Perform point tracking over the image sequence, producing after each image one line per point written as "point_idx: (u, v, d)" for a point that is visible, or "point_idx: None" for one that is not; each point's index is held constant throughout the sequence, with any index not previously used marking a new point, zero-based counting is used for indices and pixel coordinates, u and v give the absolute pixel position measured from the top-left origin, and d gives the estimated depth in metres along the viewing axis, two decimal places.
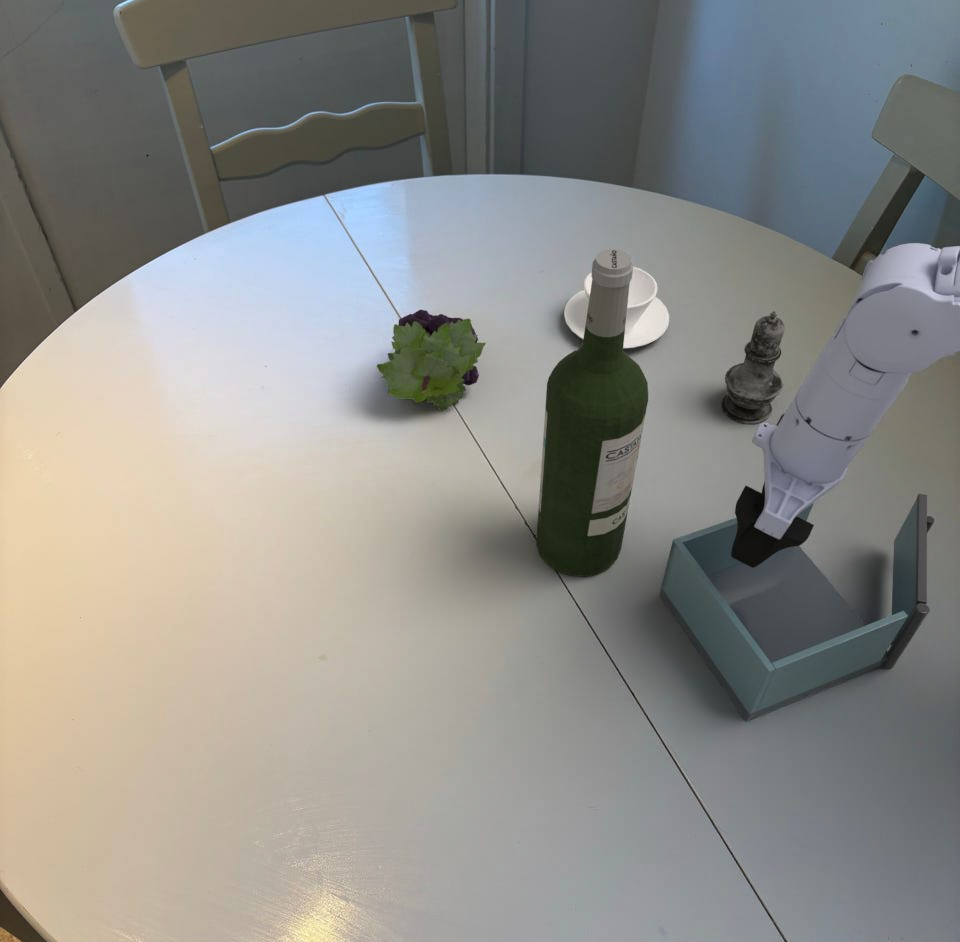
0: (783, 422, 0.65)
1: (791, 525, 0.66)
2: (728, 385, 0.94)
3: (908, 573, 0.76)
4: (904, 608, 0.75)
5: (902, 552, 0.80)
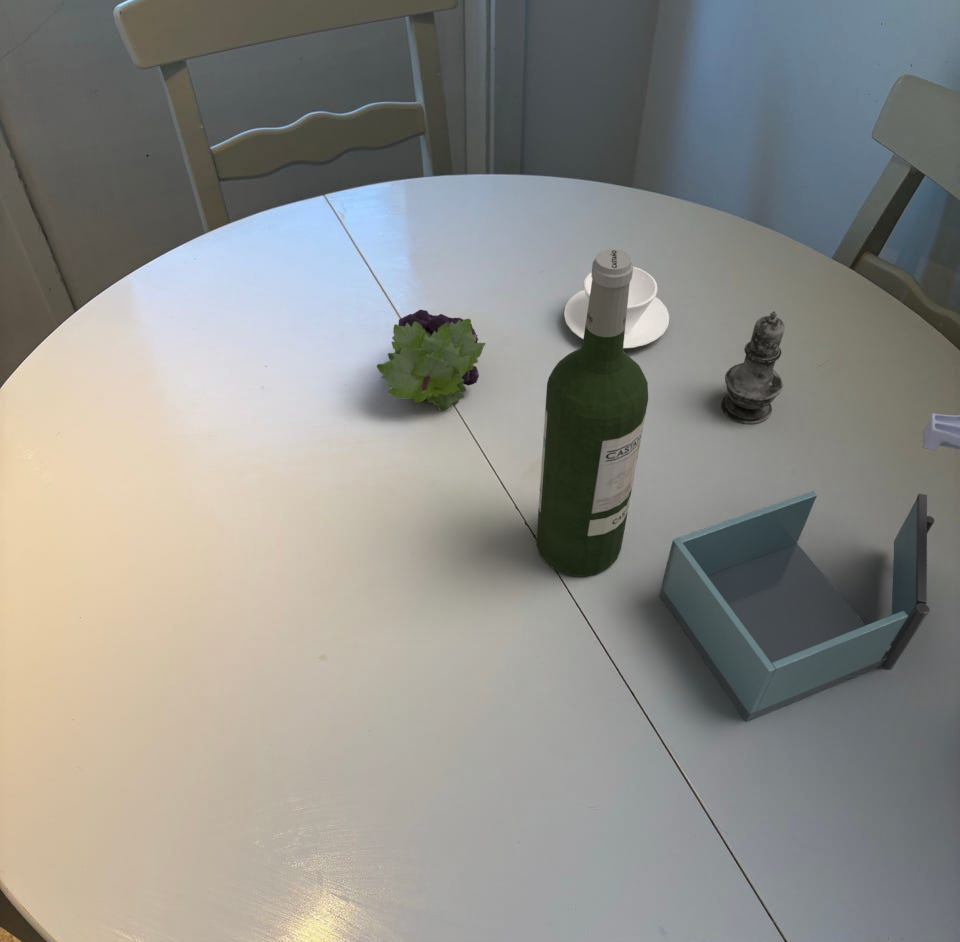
0: None
1: None
2: (728, 385, 0.94)
3: (908, 573, 0.76)
4: (904, 608, 0.75)
5: (902, 552, 0.80)
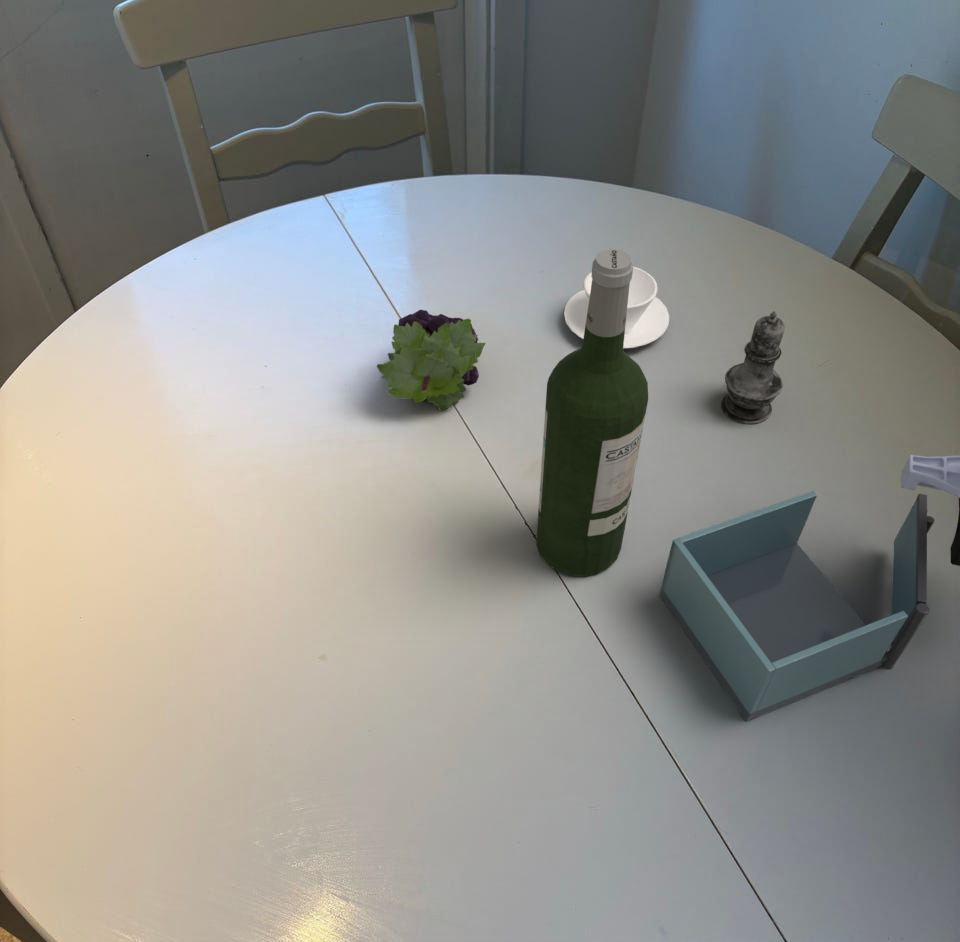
0: None
1: None
2: (728, 385, 0.94)
3: (908, 573, 0.76)
4: (904, 608, 0.75)
5: (902, 552, 0.80)
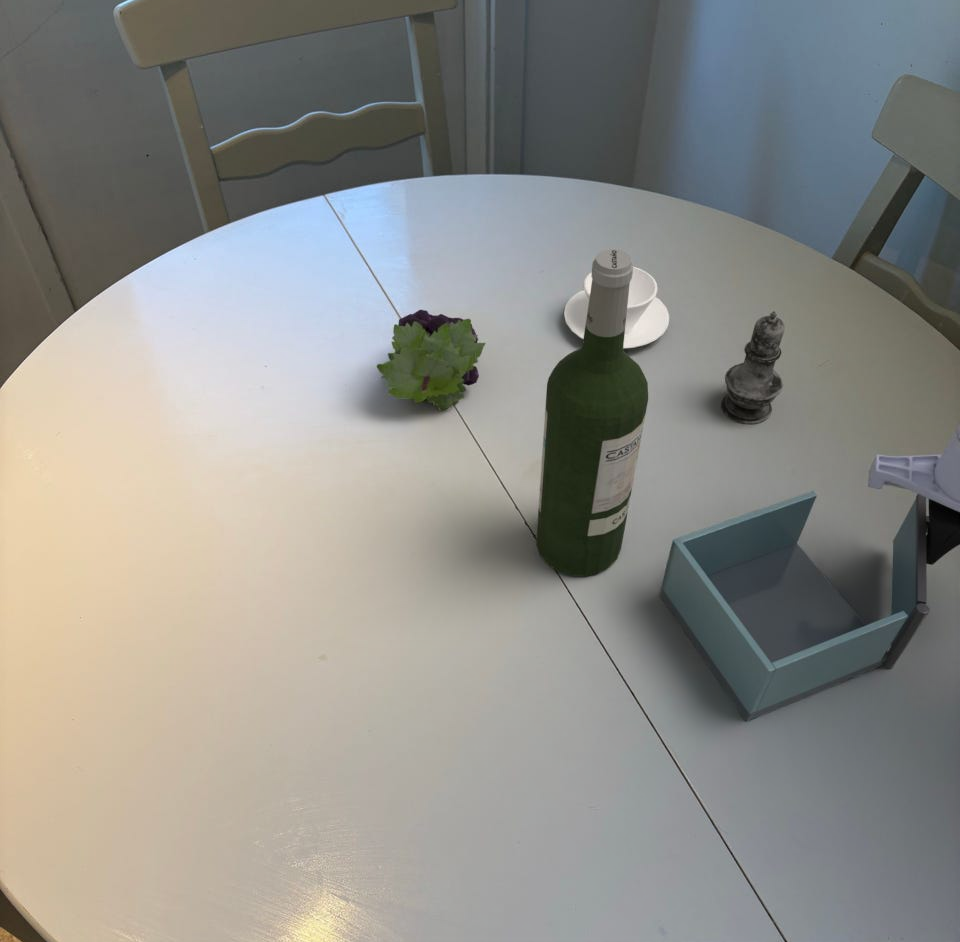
0: None
1: (944, 510, 0.73)
2: (728, 385, 0.94)
3: (908, 573, 0.76)
4: (904, 608, 0.75)
5: (901, 552, 0.80)
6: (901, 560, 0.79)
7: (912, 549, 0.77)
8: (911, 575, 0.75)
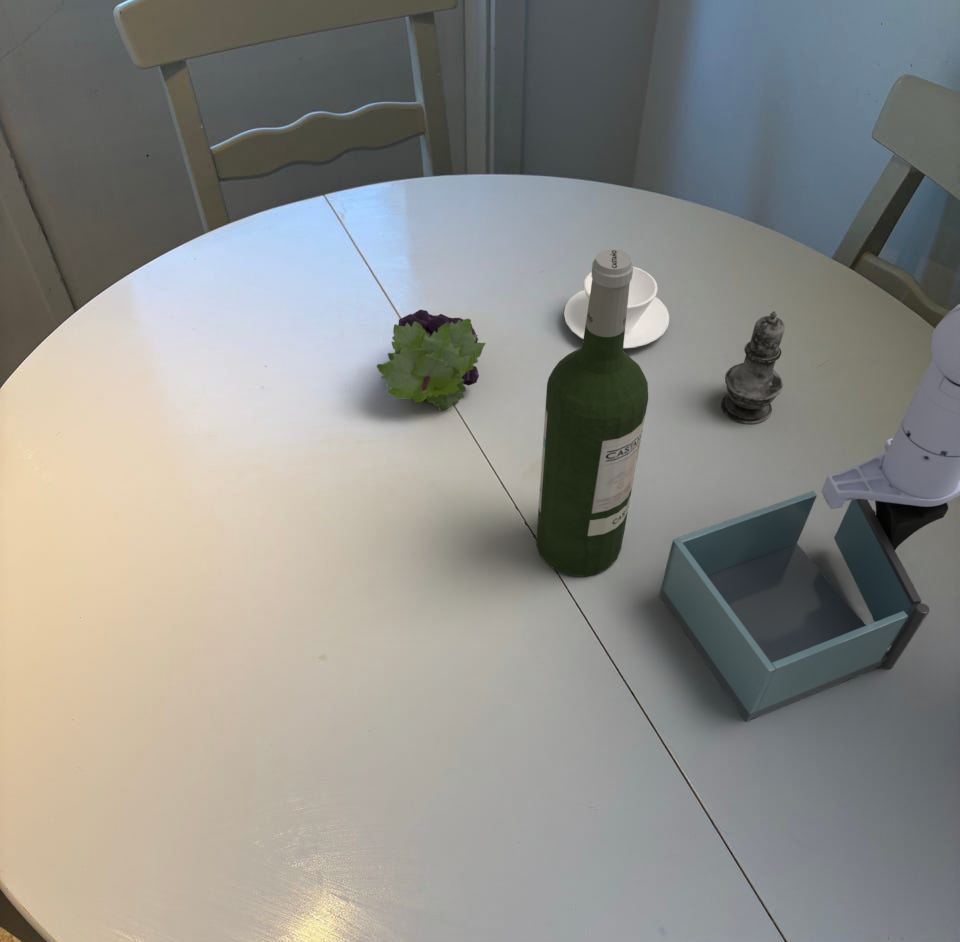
0: None
1: (904, 506, 0.73)
2: (728, 385, 0.94)
3: (880, 572, 0.76)
4: (892, 609, 0.75)
5: (856, 550, 0.80)
6: (860, 559, 0.79)
7: (875, 548, 0.77)
8: (887, 575, 0.75)
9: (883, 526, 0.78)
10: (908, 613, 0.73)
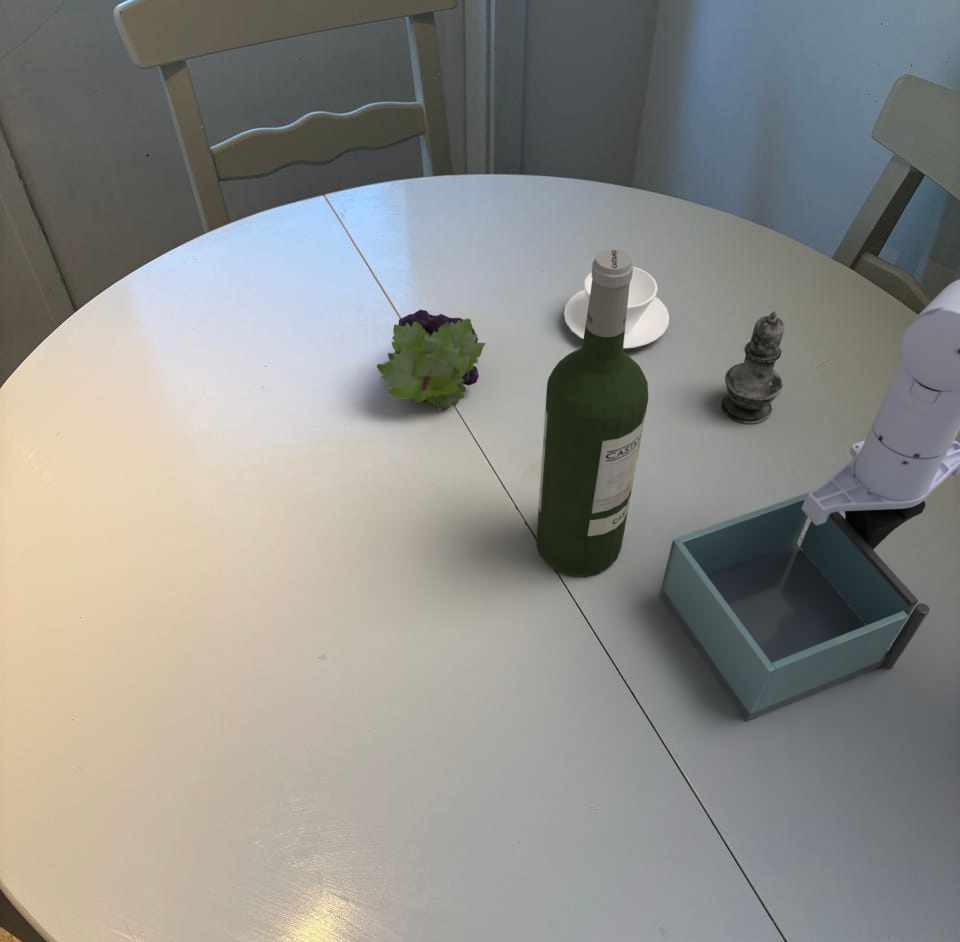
0: None
1: (879, 510, 0.73)
2: (728, 385, 0.94)
3: (864, 577, 0.76)
4: (886, 611, 0.75)
5: (831, 557, 0.79)
6: (837, 565, 0.79)
7: (854, 554, 0.76)
8: (874, 579, 0.75)
9: None
10: None
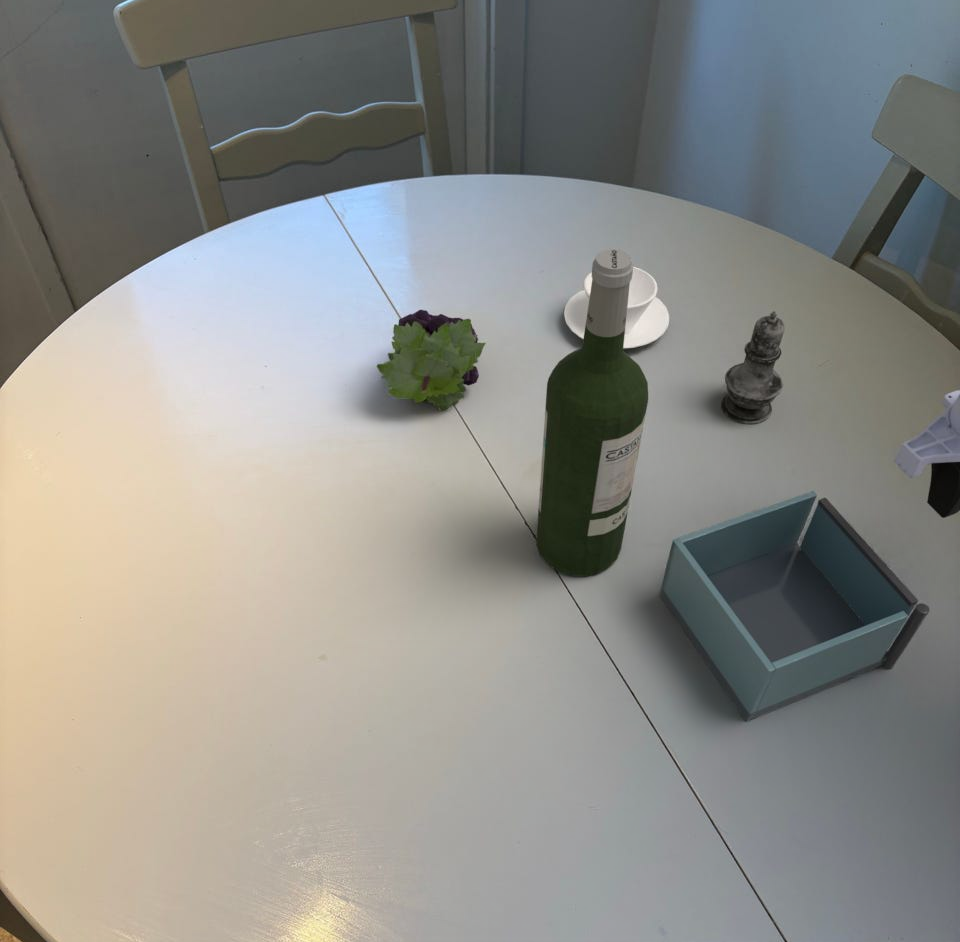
0: None
1: None
2: (728, 385, 0.94)
3: (864, 577, 0.76)
4: (886, 611, 0.75)
5: (830, 557, 0.79)
6: (837, 565, 0.79)
7: (854, 554, 0.76)
8: (874, 579, 0.75)
9: None
10: None
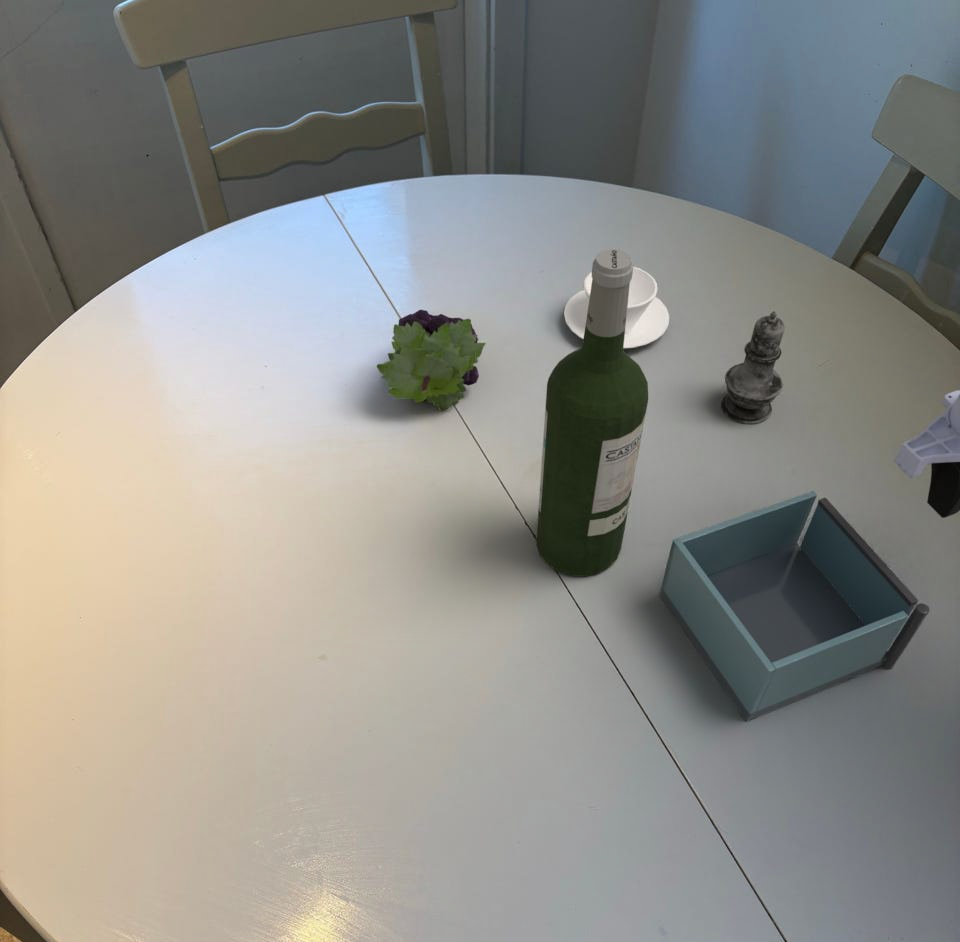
0: None
1: None
2: (728, 385, 0.94)
3: (864, 577, 0.76)
4: (886, 611, 0.75)
5: (830, 557, 0.79)
6: (837, 565, 0.79)
7: (854, 554, 0.76)
8: (874, 579, 0.75)
9: None
10: None
